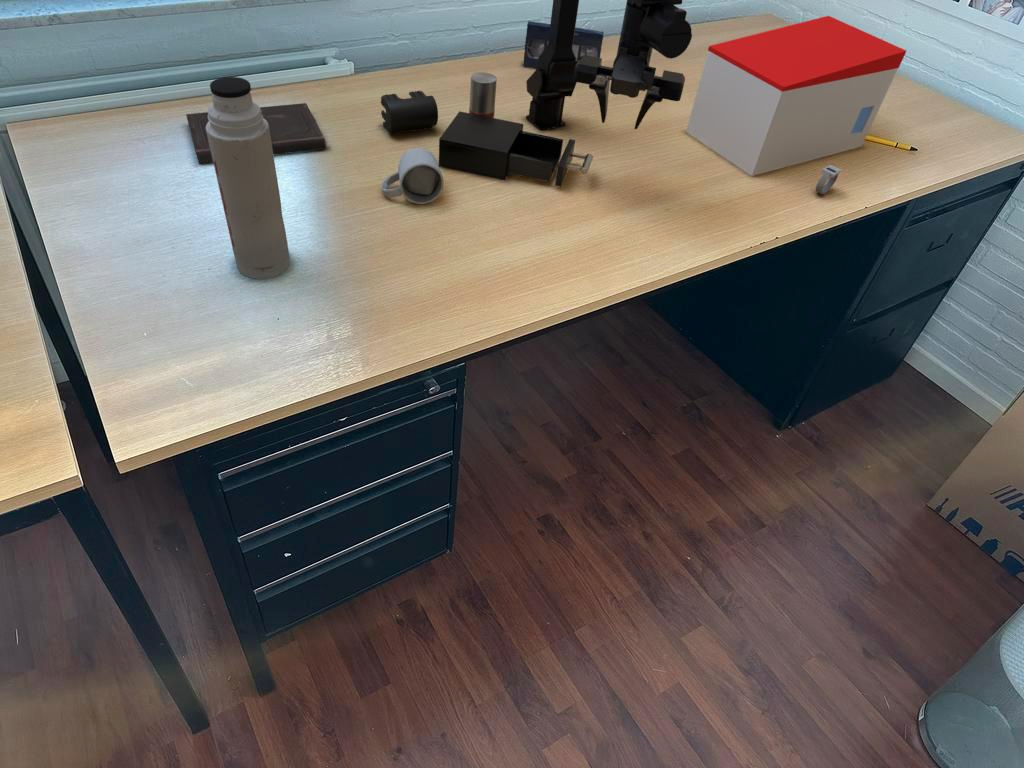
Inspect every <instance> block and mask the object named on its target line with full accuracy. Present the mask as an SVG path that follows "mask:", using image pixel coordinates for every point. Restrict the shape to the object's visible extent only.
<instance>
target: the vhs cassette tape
mask: <svg viewBox="0 0 1024 768" xmlns="http://www.w3.org/2000/svg"><path fill="white" fill-rule="evenodd" d="M549 32H550V23H545V22H536V21H530V20H528V21H527V24H526V35H525V42H524V52H523V64H522V65H523V67H525V68H531V69H536V68H537V63H538V58H539V56H540V55H541V53H542V52H543V51H544V49H545V48H546V46H547V45H548V40H549ZM604 34H605V32H604V31H603V30H602V31H600V30H595V29H587V28H581V27H575V33H574V40H573V48H572V49H573V52H574V55H575V57H576V59H577V60H579V58H580V57H581V56H583V55H586V56H591V57H597V58H601V54H602V47H603V40H604Z"/></svg>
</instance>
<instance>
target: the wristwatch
mask: <svg viewBox="0 0 1024 768" xmlns="http://www.w3.org/2000/svg"><path fill="white" fill-rule="evenodd" d="M842 171H843V170H842V169H841V168H839V167H837V166H834V165H831V164H829V165H827V166H826V167H824V168H822V169H821V170H820V172H821V173H822V175H821V177H819V180H818V181H817V183H816V187H815V192H816V193H818V194H820V195H826V193H828V191H830V189H832V187H833V186H834V184H835V183H836V181H837V179H838V177H839V174H841V173H842Z"/></svg>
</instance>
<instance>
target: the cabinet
mask: <svg viewBox="0 0 1024 768" xmlns="http://www.w3.org/2000/svg"><path fill="white" fill-rule="evenodd" d="M521 131H524V123H520V122H514V121H510V120H505V119H500V118H496V117H494V118H491V117H486V116H481V115H476V114H471V113H469V112H465V111H458V112H457V114H455V117H454V118H453V120H451V122H450V123H449V124H448V126H447V127H446V129H445V130H444V131H443V133H442V134H441V135H440V137H439V138H438V165H439V168H445V169H449V170H453V171H457V172H464V173H467V174H472V175H478V176H482V177H486V178H491V179H497V180H500V181H506V180H507V177H508V176H509V173H506V170H507V159H508V153H509V151H510V150H511V148H512V146H513V144H514V142H515V141H516V139H517V137H518V135H519V133H520V132H521Z"/></svg>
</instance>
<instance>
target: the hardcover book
mask: <svg viewBox="0 0 1024 768" xmlns="http://www.w3.org/2000/svg"><path fill="white" fill-rule="evenodd" d="M259 107H260V109H261V110H262V112H261V114H262V115H263V118H264V119H265V120H266V121H267V122H268V125H269V130H270V137H271V143H272V149H273V156H274V155H275V156H276V155H284V154H292V153H300V152H309V151H310V152H311V151H318V150H325V149H326V148H327V146H326V140H325V136H324V135H323V133H322V131H321V128H320V126H319V125H318V123H317V121H316V119H315V118H314V115H313V114H312V112H311V110H310V108H309V106H308V104H307V102H301V103H293V104H291V103H290V104H280V105H270V106H259ZM185 116H186V119H187V125H188V128H189V132H190V136H191V139H192V143H193V147H194V152H195V154H196V158H197V161H198V163H199V164H205V163H213V159H212V154H211V150H210V145H209V141H208V137H207V132H206V125H207V123H208V122H209V120H208V111H205V112H196V113H195V112H194V113H186V114H185Z"/></svg>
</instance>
